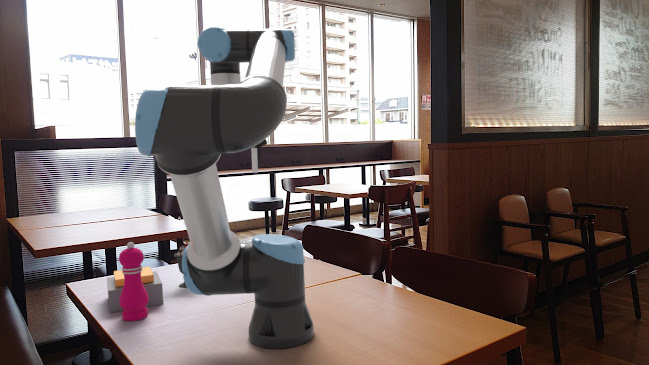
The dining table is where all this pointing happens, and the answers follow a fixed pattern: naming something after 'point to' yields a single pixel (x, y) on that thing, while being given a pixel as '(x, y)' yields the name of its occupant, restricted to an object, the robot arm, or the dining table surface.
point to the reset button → (145, 276)
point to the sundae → (179, 259)
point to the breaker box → (152, 288)
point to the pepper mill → (133, 285)
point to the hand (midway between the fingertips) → (230, 174)
